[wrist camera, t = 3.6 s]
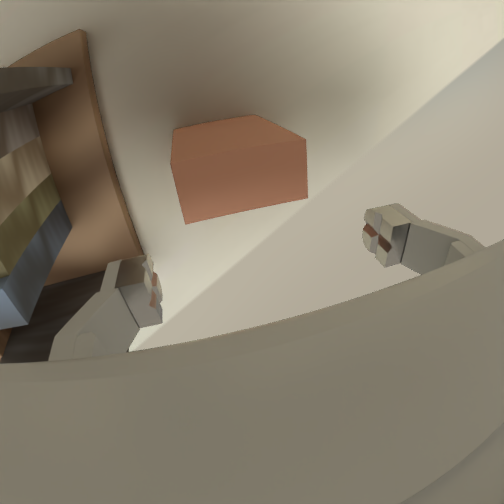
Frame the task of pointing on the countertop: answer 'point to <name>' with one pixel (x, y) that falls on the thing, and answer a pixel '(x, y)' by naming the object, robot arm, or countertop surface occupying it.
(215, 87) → the countertop surface
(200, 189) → the terracotta rectangular block
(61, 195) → the rack
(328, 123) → the countertop surface
